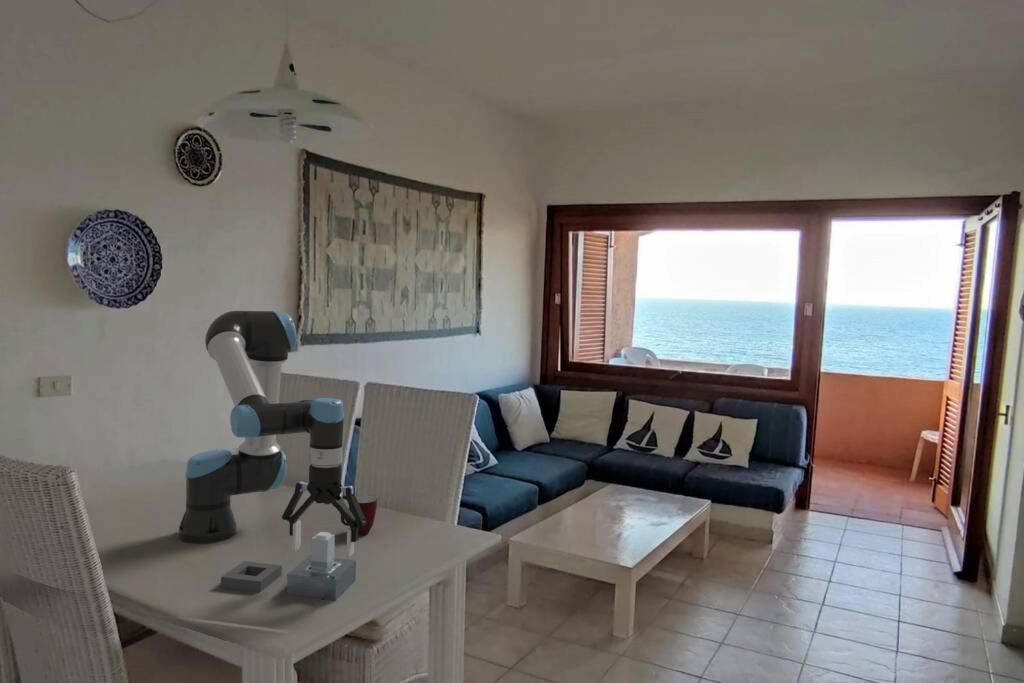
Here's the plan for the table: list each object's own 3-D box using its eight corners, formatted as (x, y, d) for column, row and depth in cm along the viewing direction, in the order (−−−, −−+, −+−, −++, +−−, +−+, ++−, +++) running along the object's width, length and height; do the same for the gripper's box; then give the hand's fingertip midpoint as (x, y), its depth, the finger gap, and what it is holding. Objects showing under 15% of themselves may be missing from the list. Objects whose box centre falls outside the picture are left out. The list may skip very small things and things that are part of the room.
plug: (309, 588, 163) (311, 536, 162) (317, 581, 167) (319, 530, 166) (326, 590, 162) (328, 537, 161) (333, 582, 166) (335, 531, 165)
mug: (347, 540, 197) (348, 505, 196) (335, 532, 203) (336, 498, 202) (380, 533, 203) (381, 500, 203) (368, 525, 209) (369, 493, 209)
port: (286, 595, 160) (287, 571, 159) (309, 575, 171) (310, 553, 171) (335, 601, 158) (336, 577, 157) (355, 580, 170) (356, 558, 169)
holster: (220, 589, 161) (220, 576, 161) (243, 572, 171) (244, 561, 171) (260, 594, 160) (260, 581, 159) (281, 577, 169) (281, 565, 169)
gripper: (268, 463, 161) (266, 552, 162) (370, 472, 157) (367, 563, 158) (284, 456, 168) (281, 541, 170) (381, 464, 164) (378, 551, 166)
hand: (323, 551), depth 164 cm, fingers open, 13 cm apart
